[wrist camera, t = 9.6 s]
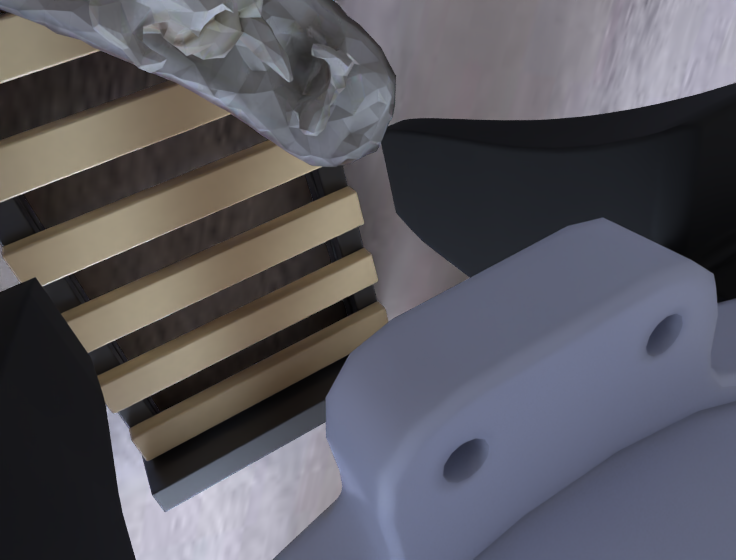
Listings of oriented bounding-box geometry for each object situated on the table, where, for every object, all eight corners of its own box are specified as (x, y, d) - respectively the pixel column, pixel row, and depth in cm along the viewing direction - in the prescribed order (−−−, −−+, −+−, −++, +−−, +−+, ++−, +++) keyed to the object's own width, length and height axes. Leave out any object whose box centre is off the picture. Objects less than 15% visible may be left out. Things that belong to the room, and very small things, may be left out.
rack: (146, 446, 25) (164, 512, 22) (-392, -336, 11) (-529, -427, 8) (375, 326, 28) (417, 371, 26) (179, -405, 14) (223, -490, 11)
